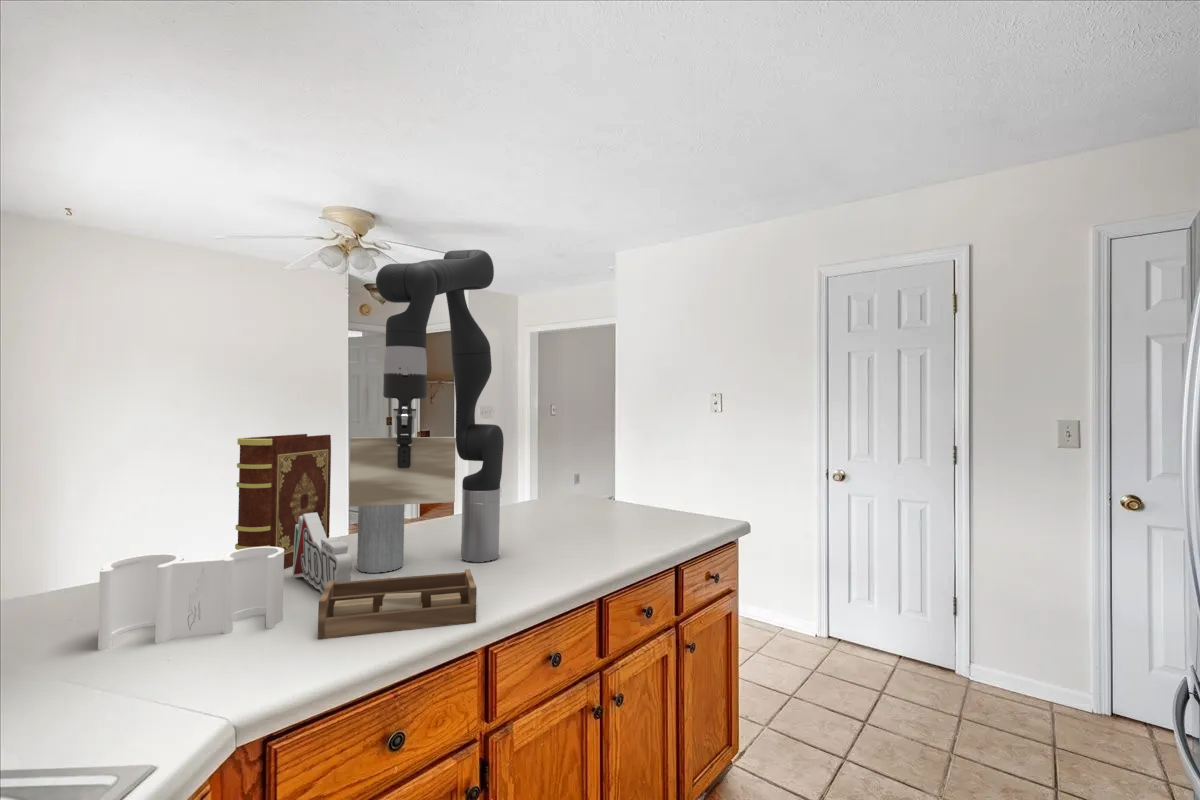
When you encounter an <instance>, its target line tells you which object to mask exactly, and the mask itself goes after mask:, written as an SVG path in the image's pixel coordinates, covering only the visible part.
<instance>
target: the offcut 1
mask: <svg viewBox="0 0 1200 800" xmlns="http://www.w3.org/2000/svg"><path fill="white" fill-rule="evenodd" d="M373 605H374V598H364V599H353V600H343V601H335V604H334V607H333V617H337V616H347V615H358V614H368V613H373Z"/></svg>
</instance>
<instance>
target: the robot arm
mask: <svg viewBox="0 0 1200 800" xmlns="http://www.w3.org/2000/svg"><path fill="white" fill-rule="evenodd" d="M494 269H495V268H494V263H493V260H492V257H491V256H490V254H489V253H488V252H486V251H485V250H481V249H464V250H463V249H461V250H460V249H458V250H449V251H447V252H446V253H445V254H444V256H443V258H441V259H439V258H435V259H427V260H423V261H419V262H413V263H409V262H408V263H407V262H406V263H388V264H385V265H384V266H383V267H381V268H380V269H379V271H378V272H377V274H376V278H375V287H376V290H377V293H378V294H379V296H381V298H383V299H384V300H386V301H387V302H390V303H393V304H395V303H403V304H404V303H408V304H409V305H408V306H407V308H406V310H404V311H403V312H401V313H396V314H394V315H390V316H389V317H388V318H387V319H386V323H385V349H384V355H383V356H384V357H383V386H382V387H383V392H382V395H383V397H384V398H385V399H396V400H397V404H398V406H397V408H393V409H392V411H393V412H392V413H393V414H392V415H393V417H392V418H393V419H394V431H393V432H394V433H395V435H396V437H397V440H396V445H397V447H398V465H397V466H398V468H409V467H410V461H411V445H412V440H411V438H412V437H413V434H414V433H415V424H416V423H415V420H416V418H417V408H412V401H413V400H418V399H420V400H421V399H422V400H424V399H426V398H427V395H428V356H427V326H428V323H429V319H430V315H431V311H432V308H433V304H434V302H435V299H436V296H438V295H439V296H440V295H442V294H445V295H446V303H447V309H448V317H449V324H450V325H449V327H450V328H449V329H450V341H451V342H450V343H451V359H452V361H451V362H452V368H453V369H452V370H453V372H452V373H453V377H454V378H453V379H454V392H455V393H454V395H455V438H456V447H455V449H456V452H457V454H458V456H459V458H460V459H461V460H463V461H470V462H471V461H473V462H482V464H481V465H482V467H481V469H479V470H478V471H477V472H475V473H472V474H468V475H466V476H464V477H463V478H462V481H461V482H462V484H461V486H462V487H461V488H462V489H461V493H462V495H461V544H460V546H461V547H460V548H461V549H460V558H462V559H464V560H466V561H465V562H468V561H473V562H472V563H485V562H484V561H487V562H491V561H490V560H492V561H495V560H497V559H499V557H500V521H501V520H500V516H501V515H500V512H501V511H500V510H501V482H502V481H501V480H502V473H503V460H504V459H503V457H504V445H505V444H504V433H503V430H502V427H501V426H499V425H497V424H490V423H489V424H484V423H476V419H475V418H476V415H475V413H476V406H477V402H478V400H479V398H480V396H481V394H482V392H483V390H484V388H485V387H486V385H487V383H488V382H489V379H490V376H491V374H492V354H491V353H492V352H491V351H492V350H491V344H490V342H489V339H488V338H487V336H486V335H485V332H484V331H483V330H482V329H481V327H480V326H479V324H478V323H477V322H476V320H475V318H474V317H473V316H472V314H471V312H470V310H469V307H468V304H467V300H466V297H465V291H470V290H471V291H472V290H473V291H474V290H476V291H477V290H482V289H486V288H488V287H490V286H491V284H492V282H493V281H494V276H495V270H494ZM400 437H407V438H400ZM496 558H497V559H496ZM462 559H461V560H462ZM494 559H495V560H494ZM464 560H463V561H464ZM482 561H483V562H482Z"/></svg>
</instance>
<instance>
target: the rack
mask: <svg viewBox="0 0 1200 800" xmlns="http://www.w3.org/2000/svg"><path fill="white" fill-rule="evenodd" d="M419 592H421V602H422V608H419V609H409V610H399V611H389V612H379V608H380V606H382V605H383V597H384V596H385V594H396V593H419ZM477 592H478V591H477V585H476V583H475V579H474V576H473V574H472V570H471V569H470V568H468V569H464V571H463V572H452V573H451V572H450V573H438V574H423V575H413V576H410V575H409V576H401V577H400V576H399V577H386V578H385V577H384V578H374V579H373V578H372V579H361V580H351V581H347V582H335V580H329V581H328V583H327V585H326V587H325V589H324V591H323V593H321V596H320V598H319V600H318V610H317V611H318V617H317V619H318V620H317V640H321V639H322V640H323V639H332V638H341V637H342V638H343V637H351V636H358V635H359V636H361V635H370V634H376V633H378V634H379V633H388V632H397V631H398V632H399V631H405V630H416V629H424V628H425V629H427V628H434V627H442V626H445V627H446V626H451V625H461V624H462V625H463V624H472V623H477ZM452 593H460V597H461V605H450V606H440V607H431V595H441V594H452ZM364 598H374V605H373V613H368V614H358V615H347V616H337V617H333V607H334V604H335V601H343V600H353V599H364Z"/></svg>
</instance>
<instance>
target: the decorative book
mask: <svg viewBox="0 0 1200 800" xmlns="http://www.w3.org/2000/svg"><path fill="white" fill-rule="evenodd" d="M331 437H332V436H331V434H320V435H319V434H318V435H308V434H307V433H301V434H300V433H299V434H298V433H297V434H284V435H270V436H269V435H268V436H253V437H252V436H251V437H238V438H237V445H239V462H238V463H236V468H237V469H238V470H239V473H238V476H239V477H238V482H236V487H237V488H238V508H237V509H238V512H237V517H238V518H237V524H236V525H235V530H236V531H237V543H235V544H234V549H235V550H240V549H245V548H252V547H266V546H270V547H280V548H283V549H284V569H286V568H289V567H291V566H292V567H293V558H294V538H295V525H296V524H298V521H299V516H303V514H308V513H316V512H317V513H318V516H319V518H320V521H321V524H322V526H323V529H324V531H325V534H326V537H327V538H330V525H331V524H330V521H331V520H330V517H331V515H330V514H331V474H332V473H331V472H332V471H331V470H332V469H331V466H332V465H331V464H332V438H331Z"/></svg>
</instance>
